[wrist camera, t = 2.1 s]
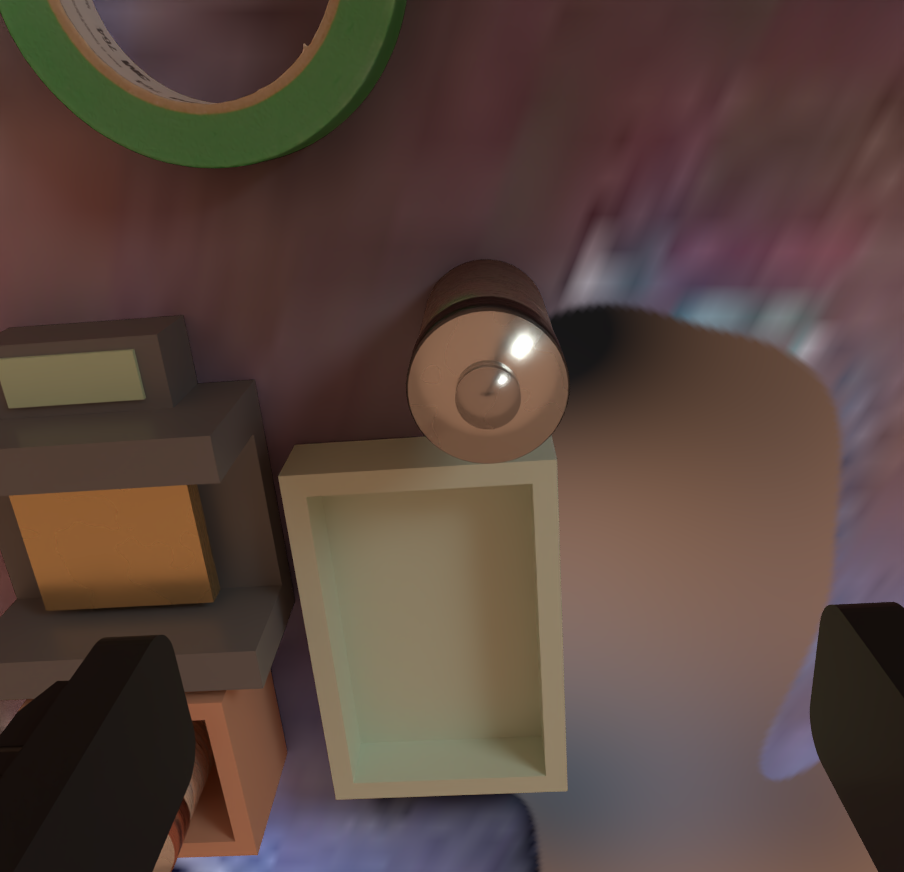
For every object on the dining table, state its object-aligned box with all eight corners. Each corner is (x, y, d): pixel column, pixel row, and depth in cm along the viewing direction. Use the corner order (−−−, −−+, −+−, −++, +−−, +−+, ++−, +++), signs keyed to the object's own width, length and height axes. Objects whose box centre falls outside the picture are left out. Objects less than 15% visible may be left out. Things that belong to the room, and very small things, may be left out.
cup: (259, 613, 31) (221, 702, 27) (287, 752, 34) (257, 855, 29) (84, 622, 32) (17, 711, 27) (126, 758, 34) (71, 861, 30)
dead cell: (225, 655, 31) (152, 815, 24) (243, 737, 33) (180, 909, 26) (122, 660, 32) (21, 820, 25) (146, 741, 33) (57, 913, 26)
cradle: (242, 311, 27) (193, 354, 22) (295, 600, 31) (263, 688, 26) (-49, 331, 27) (-156, 379, 23) (44, 613, 32) (-31, 701, 27)
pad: (190, 456, 27) (182, 466, 26) (220, 589, 29) (213, 602, 28) (15, 467, 27) (2, 477, 26) (57, 598, 29) (46, 611, 28)
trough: (550, 428, 28) (556, 459, 25) (561, 741, 33) (567, 791, 31) (294, 444, 28) (277, 476, 26) (346, 749, 34) (336, 799, 31)
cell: (545, 252, 26) (571, 310, 19) (549, 374, 27) (574, 470, 20) (417, 262, 26) (395, 322, 19) (428, 383, 27) (412, 480, 20)
